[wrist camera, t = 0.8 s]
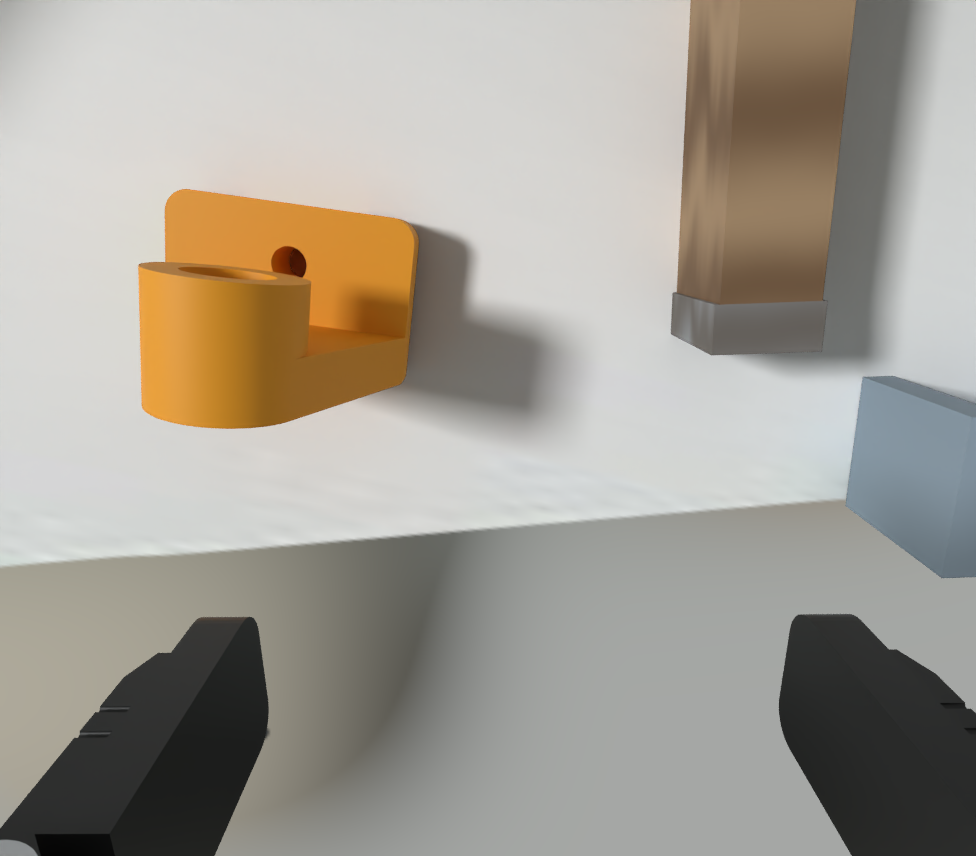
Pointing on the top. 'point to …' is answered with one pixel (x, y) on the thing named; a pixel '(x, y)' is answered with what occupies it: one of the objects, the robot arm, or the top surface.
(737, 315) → the rail
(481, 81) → the top surface
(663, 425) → the top surface
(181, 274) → the bracket
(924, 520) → the grey u-channel
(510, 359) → the top surface
